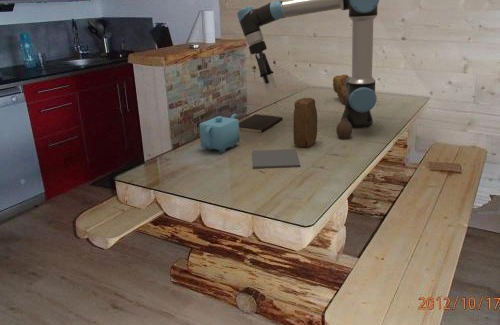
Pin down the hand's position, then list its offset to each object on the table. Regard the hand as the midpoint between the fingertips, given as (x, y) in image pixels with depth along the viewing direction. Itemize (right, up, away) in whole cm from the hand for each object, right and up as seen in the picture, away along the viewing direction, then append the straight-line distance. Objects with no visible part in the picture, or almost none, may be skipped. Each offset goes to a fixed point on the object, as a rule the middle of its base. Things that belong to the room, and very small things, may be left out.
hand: (272, 89), depth 200 cm
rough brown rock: (+48, +2, +60) cm, 77 cm away
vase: (+32, -22, +1) cm, 39 cm away
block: (+14, -25, -5) cm, 29 cm away
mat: (0, -31, -21) cm, 38 cm away
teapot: (-22, -26, -3) cm, 34 cm away
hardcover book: (-6, -14, +26) cm, 30 cm away
